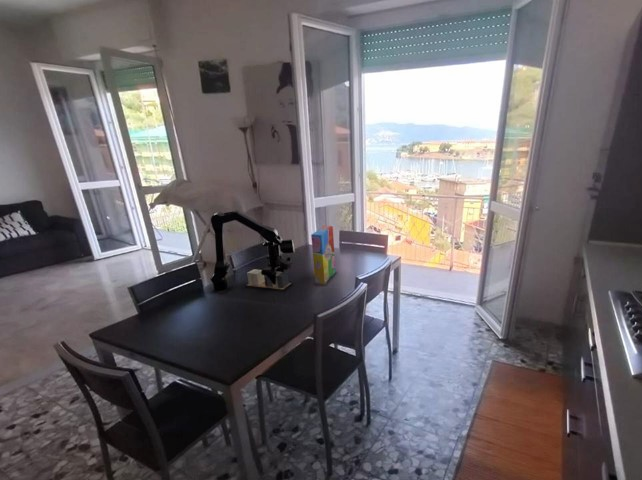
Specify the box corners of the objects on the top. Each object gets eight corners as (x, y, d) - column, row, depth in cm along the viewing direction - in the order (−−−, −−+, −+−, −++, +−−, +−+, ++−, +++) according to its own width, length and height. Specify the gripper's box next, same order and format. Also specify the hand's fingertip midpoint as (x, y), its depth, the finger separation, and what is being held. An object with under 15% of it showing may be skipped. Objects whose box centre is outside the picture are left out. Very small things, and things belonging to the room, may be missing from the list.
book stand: (283, 291, 182) (281, 280, 180) (246, 287, 188) (244, 276, 186) (291, 284, 190) (290, 274, 187) (256, 281, 196) (254, 270, 193)
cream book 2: (258, 285, 187) (256, 273, 185) (254, 284, 188) (252, 273, 185) (264, 281, 192) (263, 270, 190) (260, 280, 193) (258, 269, 190)
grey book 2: (283, 288, 183) (281, 276, 180) (278, 287, 184) (276, 275, 181) (288, 283, 188) (287, 272, 186) (284, 283, 189) (282, 272, 186)
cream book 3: (277, 287, 184) (276, 275, 181) (272, 287, 185) (271, 275, 182) (283, 283, 189) (282, 271, 187) (278, 282, 190) (277, 271, 187)
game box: (324, 285, 188) (320, 235, 177) (315, 285, 189) (310, 234, 178) (335, 272, 206) (332, 225, 195) (326, 271, 207) (323, 225, 196)
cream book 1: (253, 284, 188) (251, 273, 185) (248, 284, 189) (246, 272, 186) (259, 280, 193) (258, 269, 191) (255, 280, 194) (253, 269, 191)
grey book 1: (272, 286, 185) (270, 275, 182) (267, 286, 186) (265, 274, 183) (278, 282, 190) (276, 271, 187) (273, 282, 191) (272, 270, 188)
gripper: (278, 260, 170) (282, 290, 176) (296, 249, 186) (299, 277, 192) (258, 258, 173) (262, 288, 179) (278, 248, 189) (281, 275, 195)
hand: (277, 282), depth 186 cm, fingers closed on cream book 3, 6 cm apart
